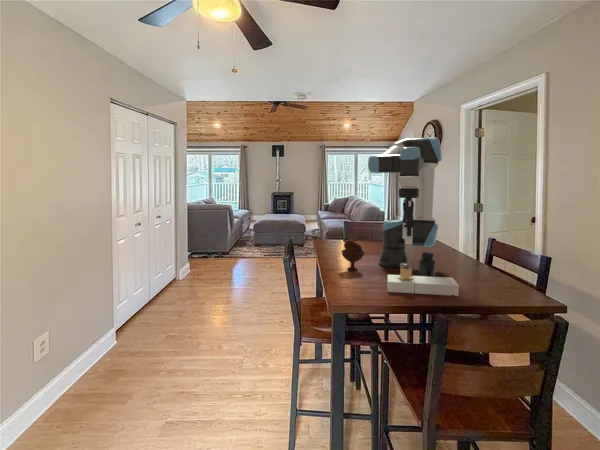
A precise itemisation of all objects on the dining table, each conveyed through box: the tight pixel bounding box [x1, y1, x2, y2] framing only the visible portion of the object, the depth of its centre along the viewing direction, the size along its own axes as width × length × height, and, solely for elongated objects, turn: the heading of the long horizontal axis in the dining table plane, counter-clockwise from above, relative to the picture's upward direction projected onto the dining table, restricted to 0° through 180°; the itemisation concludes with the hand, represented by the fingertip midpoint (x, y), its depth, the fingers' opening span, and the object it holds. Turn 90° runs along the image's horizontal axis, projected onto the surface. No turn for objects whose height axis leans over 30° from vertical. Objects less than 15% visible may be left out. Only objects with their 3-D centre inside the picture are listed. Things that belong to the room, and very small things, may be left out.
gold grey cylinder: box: [399, 263, 413, 281], centre depth 151 cm, size 5×5×10 cm
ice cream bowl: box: [340, 239, 365, 272], centre depth 183 cm, size 11×11×15 cm
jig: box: [386, 274, 460, 297], centre depth 150 cm, size 12×26×4 cm, turn 78°
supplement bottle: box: [418, 251, 437, 277], centre depth 164 cm, size 7×7×12 cm
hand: (407, 241), depth 150 cm, fingers open, 13 cm apart
